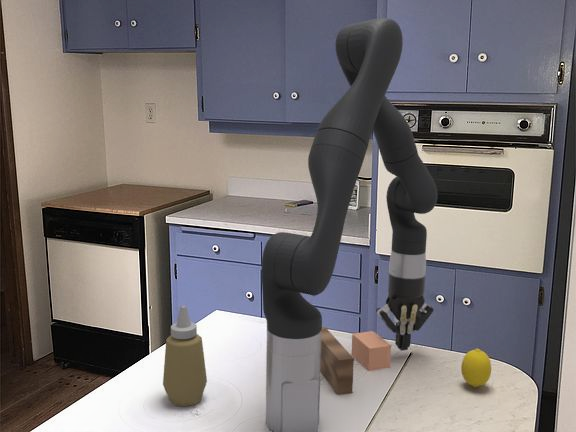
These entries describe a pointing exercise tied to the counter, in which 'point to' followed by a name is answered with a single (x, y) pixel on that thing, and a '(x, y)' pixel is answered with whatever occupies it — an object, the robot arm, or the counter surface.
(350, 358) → the walnut plank
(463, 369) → the lemon
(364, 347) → the terracotta block
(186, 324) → the squeeze bottle
